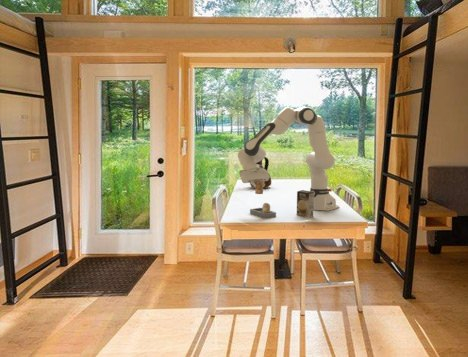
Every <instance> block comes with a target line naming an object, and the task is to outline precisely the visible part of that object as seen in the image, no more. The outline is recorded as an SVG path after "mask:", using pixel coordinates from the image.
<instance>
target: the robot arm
mask: <svg viewBox="0 0 468 357" xmlns="http://www.w3.org/2000/svg"><path fill="white" fill-rule="evenodd" d="M324 122H325V121H324V119H323V117H322V116H320V115H317V114H316V113H315V111H314V109H313V108H311V107H310V106H301V107H298V108H293V107H289V106H286V107H284V108H283V109H282V110H280V111H279V113H278V114H277V115H276V116H275V117H274V119H273V120H271V122H268V123H267V124H265V125H264V126H263V127H262V128H261V129H260V130H259V131H258V132H257V133H256V134H255V135H254V136H253V137H251V139H249V140H248V141H246V143H245V144H244V146H243V147H242V148H241V149H240V150H239V151H238V152H237V159H238V160H239V161H238V162H239V163H240V165H241V166H242V170H239V171H238V174H239V176H240V179H241V182H242V184H250V183H251V184H252V185H253V186H254V188H253V189H255V187H257V184H255V183H254V182H257V181H259V180H260V181H262V182H263V187H264V186H265V184H264V181H268V180H269V178H270V177H271V175H270V173H269V172H268V170H267V171H266V170H265V169H264V167H265V165H263V164H262V165H258V164H256V163H257V162H260V161H261V160H262V161H263V160H265V159H264V158H265V157H266V155H267V154H266V150H265V149H264V148H263V147H262V146H261V145H262V143H263V142H264V141H266V139H267V138H268V137H269V136H271V135H277V136H278V135H279V136H281V135H283V134H284V133H285V132H286V131H287V130H288V129H289V128H290V126H291V125H292V124H293V123H295V124H299V125H306V126H307V131H308V140H309V141H308V142H309V146H310V147H311V148H312V150H313V151H311V152H308V154H307V155H306V158H305V159H306V163H307V165H308V167H309V168H308V169H309V172H310V188H309V191H311V192H314V210H315V211H332V210H336V209H339V208H340V205H338V204H337V200H336V198H335V197H334V196H332V194H330V192H332V191H333V190H332V188H330V187H329V188H328V183H329V182H328V179H329V178H328V175H327V172H326V170H328V169H332V168H333V167H334V165H335V161H336V160H335V157H334V155H333V154H332V153H331V151H330V149H329V146H328V142H327V136H326V135H327V133H326V127H325V123H324ZM267 172H268V173H269V174H268V173H267ZM269 175H270V176H269ZM314 210H313V211H314Z"/></svg>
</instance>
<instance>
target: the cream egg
mask: <svg viewBox="0 0 468 357" xmlns="http://www.w3.org/2000/svg"><path fill="white" fill-rule="evenodd" d="M262 208H263V213H265V214H266V213H270V211H271V205H270V203H268V202H265V203H263V204H262Z"/></svg>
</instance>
